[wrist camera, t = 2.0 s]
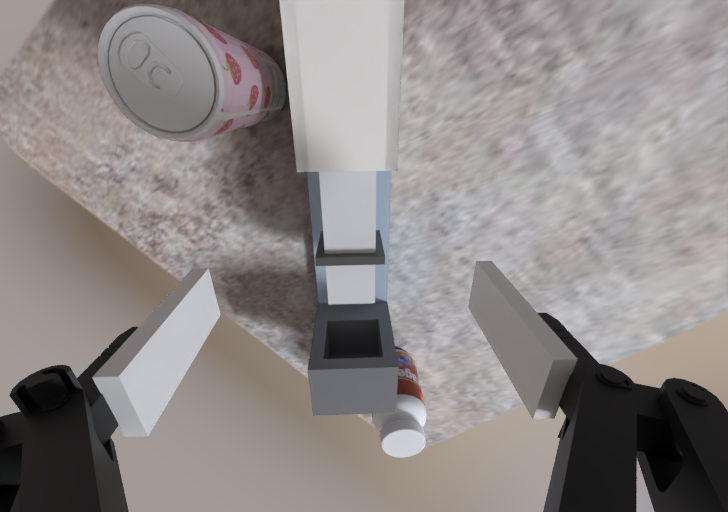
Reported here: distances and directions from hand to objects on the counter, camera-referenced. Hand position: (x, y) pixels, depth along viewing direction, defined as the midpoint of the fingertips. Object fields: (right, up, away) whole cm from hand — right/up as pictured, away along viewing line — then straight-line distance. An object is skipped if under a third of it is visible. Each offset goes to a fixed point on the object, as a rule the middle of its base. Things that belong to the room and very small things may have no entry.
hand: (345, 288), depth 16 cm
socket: (0, -6, +22) cm, 23 cm away
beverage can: (-9, +16, +12) cm, 22 cm away
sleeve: (-1, +15, +11) cm, 19 cm away
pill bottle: (+5, -13, +27) cm, 30 cm away
